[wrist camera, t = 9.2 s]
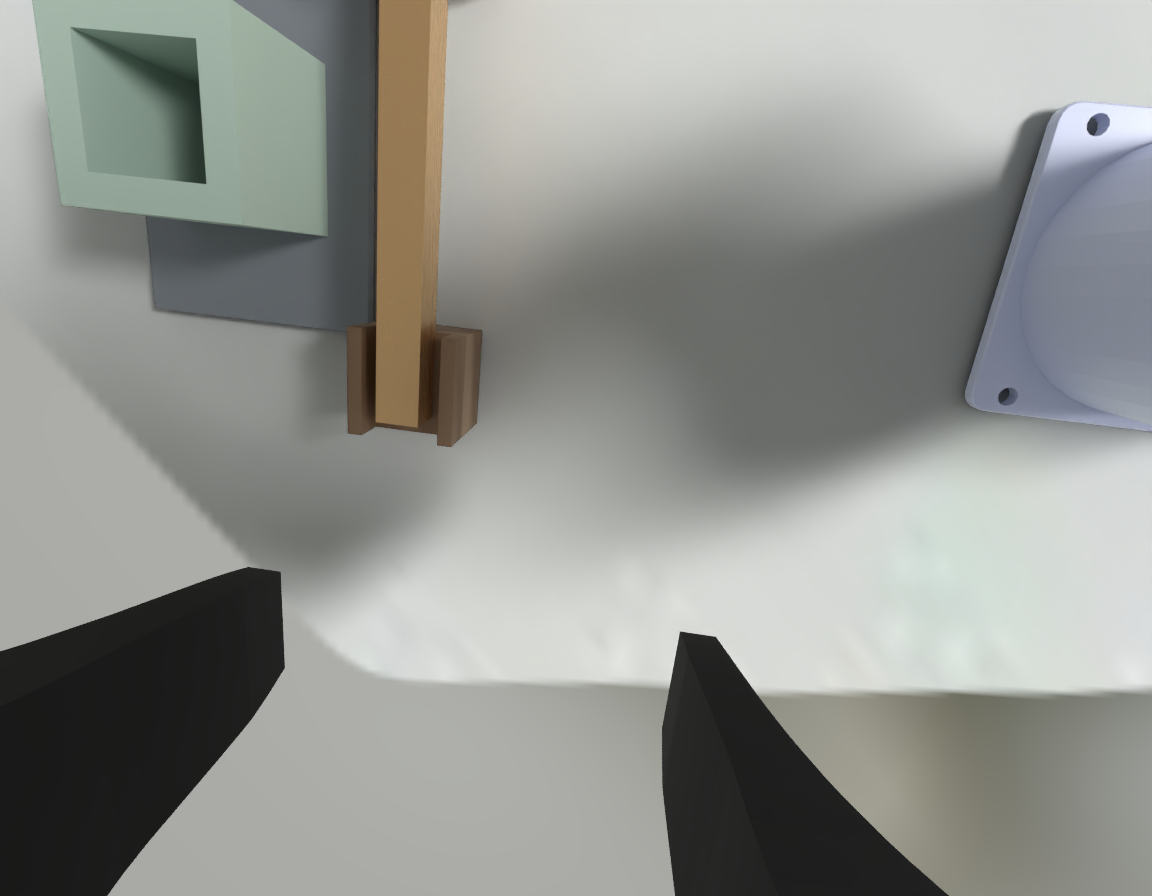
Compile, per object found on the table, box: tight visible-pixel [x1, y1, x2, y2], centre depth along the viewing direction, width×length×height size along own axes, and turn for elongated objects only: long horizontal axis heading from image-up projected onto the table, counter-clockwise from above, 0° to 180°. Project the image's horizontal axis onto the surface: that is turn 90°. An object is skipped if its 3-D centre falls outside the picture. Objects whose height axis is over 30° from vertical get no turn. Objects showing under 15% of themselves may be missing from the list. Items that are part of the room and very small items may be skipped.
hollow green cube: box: [32, 0, 328, 236], centre depth 15 cm, size 4×4×4 cm
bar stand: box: [347, 322, 482, 447], centre depth 16 cm, size 3×15×3 cm, turn 174°
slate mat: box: [146, 0, 376, 332], centre depth 17 cm, size 7×10×1 cm
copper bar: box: [376, 0, 448, 428], centre depth 15 cm, size 1×14×1 cm, turn 174°
